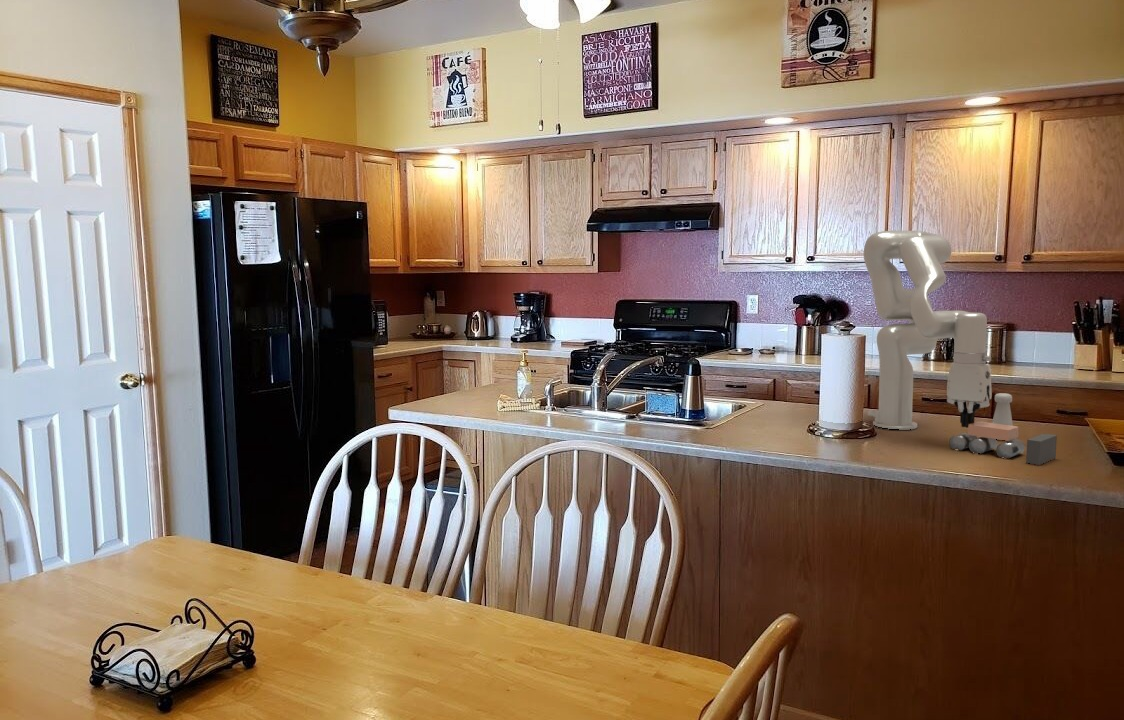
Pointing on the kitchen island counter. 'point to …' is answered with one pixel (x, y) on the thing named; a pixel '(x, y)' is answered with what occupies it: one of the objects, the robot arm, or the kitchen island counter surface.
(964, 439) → the rear steel roller
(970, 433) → the terracotta slab
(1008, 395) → the salt shaker
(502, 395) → the kitchen island counter surface
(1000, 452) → the loose steel roller
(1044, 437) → the rubber block
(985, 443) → the front steel roller
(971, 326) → the robot arm
